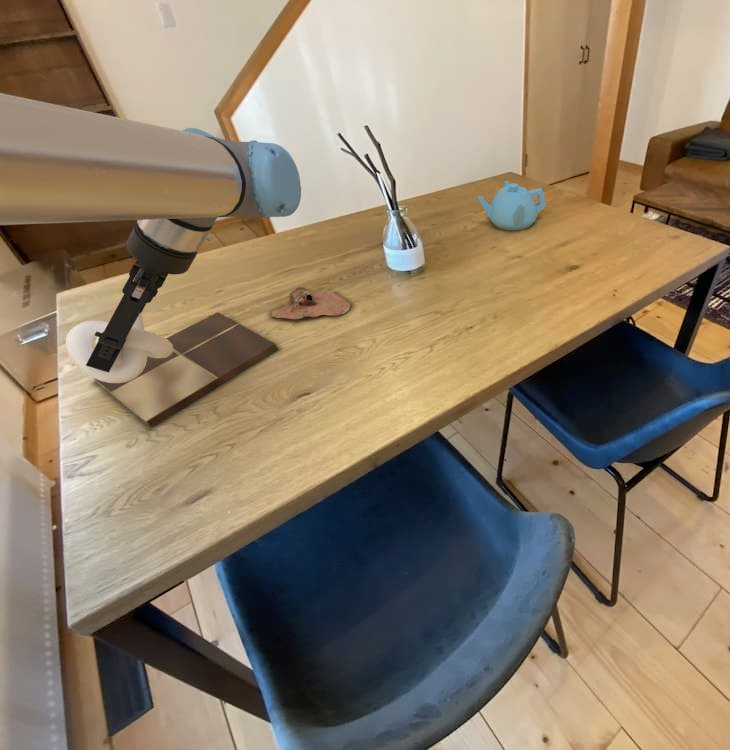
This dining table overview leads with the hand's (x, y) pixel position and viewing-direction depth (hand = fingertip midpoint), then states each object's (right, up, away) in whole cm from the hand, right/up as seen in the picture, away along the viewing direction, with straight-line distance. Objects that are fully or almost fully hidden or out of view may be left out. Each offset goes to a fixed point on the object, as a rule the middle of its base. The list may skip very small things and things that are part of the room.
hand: (112, 343), depth 69 cm
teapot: (+65, +40, +60) cm, 97 cm away
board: (+3, -3, +14) cm, 14 cm away
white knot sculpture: (+3, -4, +3) cm, 5 cm away
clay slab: (+20, +10, +28) cm, 36 cm away
